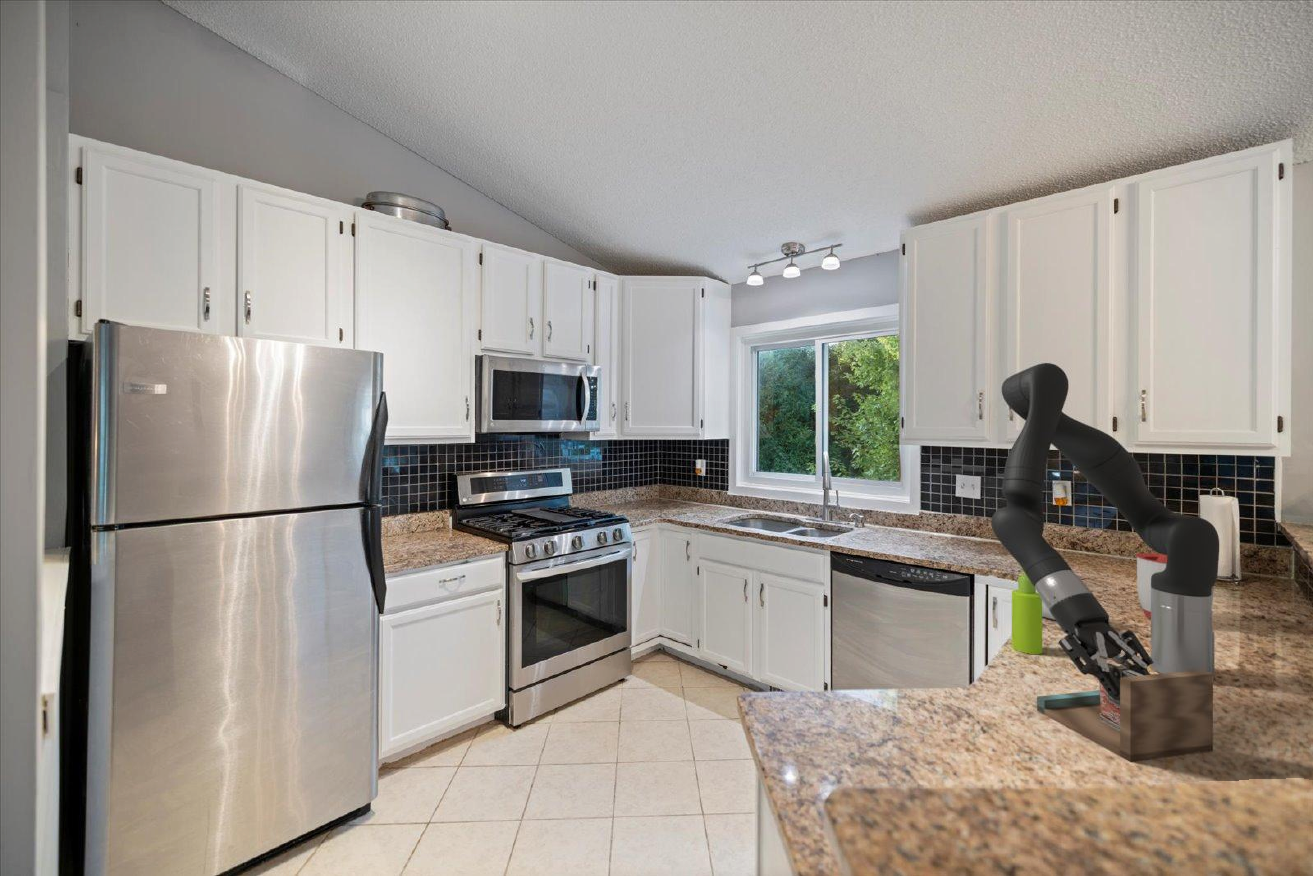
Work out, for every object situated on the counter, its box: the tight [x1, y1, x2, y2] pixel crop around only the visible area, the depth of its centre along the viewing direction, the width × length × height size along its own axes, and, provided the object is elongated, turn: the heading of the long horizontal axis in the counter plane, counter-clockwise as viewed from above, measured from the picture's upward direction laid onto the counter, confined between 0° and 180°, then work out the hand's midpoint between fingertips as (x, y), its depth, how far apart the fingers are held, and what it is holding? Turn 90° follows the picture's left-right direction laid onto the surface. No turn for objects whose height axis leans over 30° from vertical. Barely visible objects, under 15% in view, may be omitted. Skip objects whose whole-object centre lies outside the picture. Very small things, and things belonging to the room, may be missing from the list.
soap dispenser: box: [1011, 563, 1043, 655], centre depth 127 cm, size 6×7×20 cm
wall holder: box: [1036, 670, 1214, 763], centre depth 92 cm, size 16×16×12 cm
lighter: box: [1096, 662, 1142, 731], centre depth 90 cm, size 8×3×10 cm, turn 8°
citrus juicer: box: [1135, 552, 1214, 619], centre depth 148 cm, size 16×17×20 cm
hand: (1138, 696), depth 88 cm, fingers open, 6 cm apart
